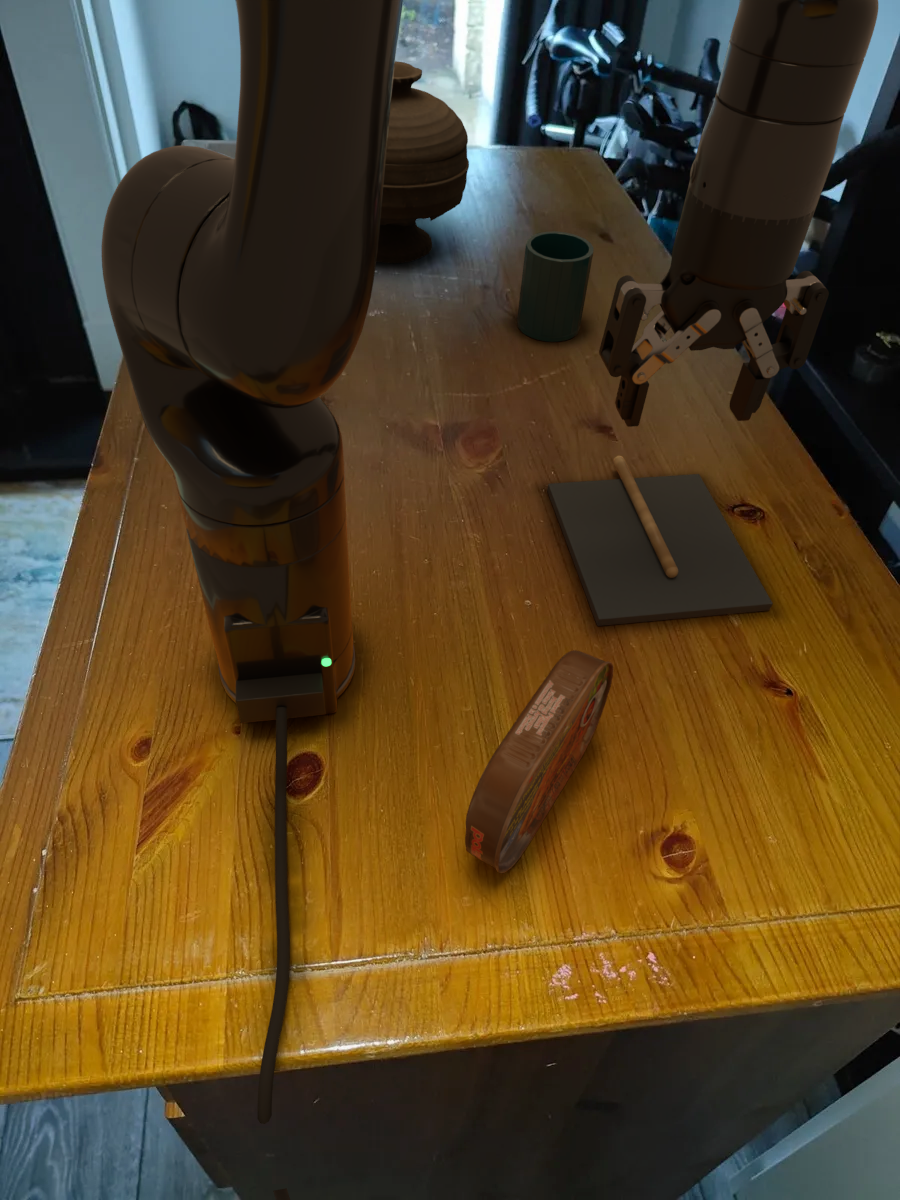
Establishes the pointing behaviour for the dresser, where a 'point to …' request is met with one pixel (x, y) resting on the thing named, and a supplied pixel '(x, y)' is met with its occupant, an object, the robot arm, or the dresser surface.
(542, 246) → the cup
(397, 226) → the pot
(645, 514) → the stirring stick
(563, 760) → the tin
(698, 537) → the mat
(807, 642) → the dresser surface
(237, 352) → the robot arm
